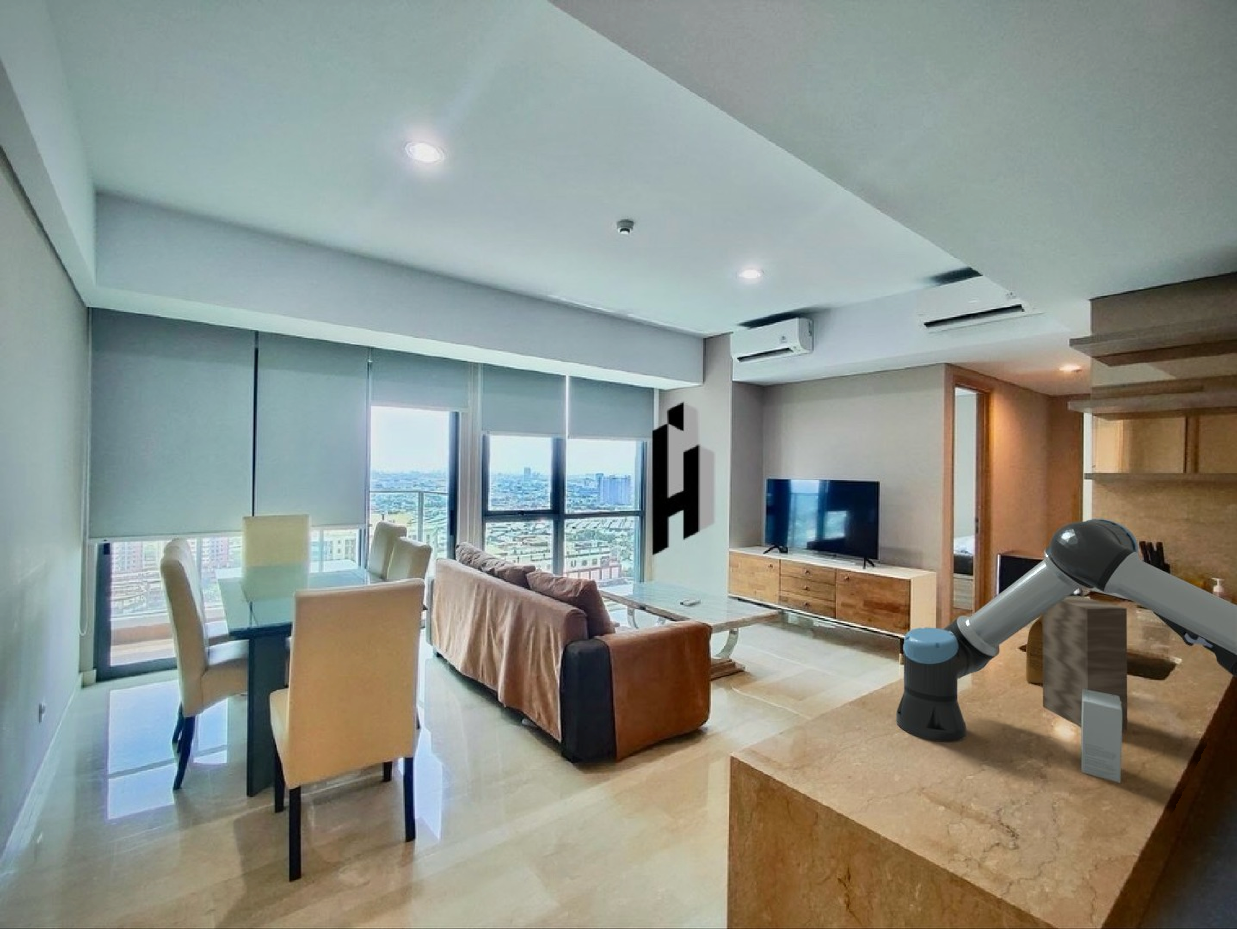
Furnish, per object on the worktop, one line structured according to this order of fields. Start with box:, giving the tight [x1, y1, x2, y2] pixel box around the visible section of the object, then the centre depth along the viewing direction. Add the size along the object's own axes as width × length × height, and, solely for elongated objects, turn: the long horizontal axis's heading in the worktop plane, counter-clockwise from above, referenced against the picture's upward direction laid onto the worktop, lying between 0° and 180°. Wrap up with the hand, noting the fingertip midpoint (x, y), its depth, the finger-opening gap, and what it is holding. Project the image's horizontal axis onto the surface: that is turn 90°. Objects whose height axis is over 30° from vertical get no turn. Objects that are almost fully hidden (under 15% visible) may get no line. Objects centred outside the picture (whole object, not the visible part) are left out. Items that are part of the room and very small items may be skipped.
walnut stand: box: [1042, 595, 1128, 731], centre depth 145 cm, size 14×10×30 cm
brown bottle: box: [1025, 614, 1043, 685], centre depth 170 cm, size 10×12×22 cm
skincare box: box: [1080, 689, 1123, 784], centre depth 119 cm, size 8×7×16 cm
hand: (1151, 584), depth 127 cm, fingers closed on steel bar, 4 cm apart
